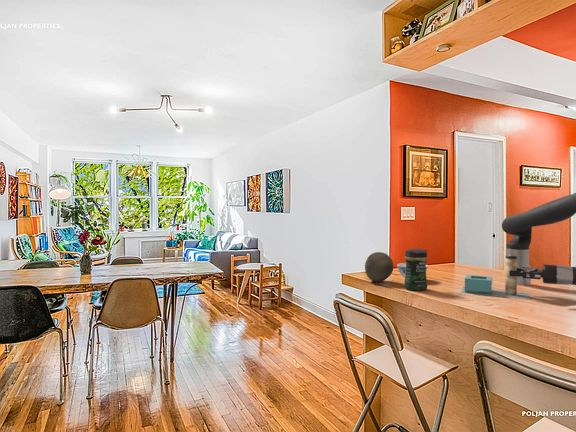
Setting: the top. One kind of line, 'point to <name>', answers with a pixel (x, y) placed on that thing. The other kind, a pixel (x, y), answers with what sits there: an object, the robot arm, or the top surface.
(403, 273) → the chinaware
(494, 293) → the board
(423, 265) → the coffee jar
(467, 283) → the teal open box
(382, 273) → the dark grey ball
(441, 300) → the top surface
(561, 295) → the top surface
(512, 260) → the dowel
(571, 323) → the top surface
